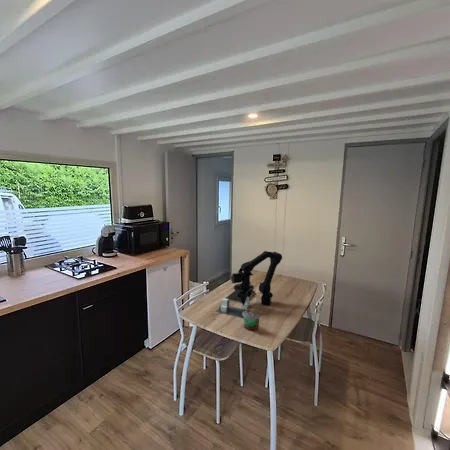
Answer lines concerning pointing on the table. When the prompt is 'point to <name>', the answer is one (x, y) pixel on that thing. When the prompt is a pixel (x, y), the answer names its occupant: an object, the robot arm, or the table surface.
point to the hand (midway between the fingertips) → (245, 302)
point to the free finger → (246, 303)
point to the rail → (232, 311)
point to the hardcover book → (234, 296)
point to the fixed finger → (225, 304)
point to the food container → (250, 320)
